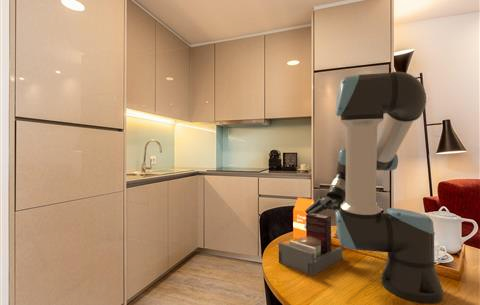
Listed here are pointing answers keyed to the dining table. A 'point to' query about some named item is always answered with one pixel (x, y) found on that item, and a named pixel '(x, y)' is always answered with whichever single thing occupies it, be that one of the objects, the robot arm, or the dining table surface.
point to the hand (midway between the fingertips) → (320, 232)
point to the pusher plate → (304, 247)
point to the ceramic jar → (312, 243)
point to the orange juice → (300, 217)
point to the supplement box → (319, 230)
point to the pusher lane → (307, 259)
